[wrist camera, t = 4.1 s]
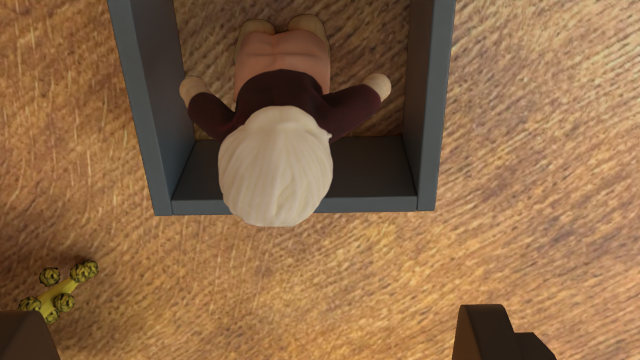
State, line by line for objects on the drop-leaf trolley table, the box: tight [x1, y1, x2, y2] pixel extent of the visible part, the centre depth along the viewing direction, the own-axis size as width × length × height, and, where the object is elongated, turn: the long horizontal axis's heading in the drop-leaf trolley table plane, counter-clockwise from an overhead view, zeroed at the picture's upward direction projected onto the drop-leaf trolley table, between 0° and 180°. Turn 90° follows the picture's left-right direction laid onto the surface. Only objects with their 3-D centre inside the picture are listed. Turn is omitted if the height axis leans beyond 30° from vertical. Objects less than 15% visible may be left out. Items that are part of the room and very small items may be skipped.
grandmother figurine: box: [179, 14, 391, 227], centre depth 20 cm, size 8×4×13 cm, turn 104°
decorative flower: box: [18, 260, 98, 324], centre depth 30 cm, size 14×12×15 cm
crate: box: [107, 0, 456, 216], centre depth 23 cm, size 12×11×6 cm
